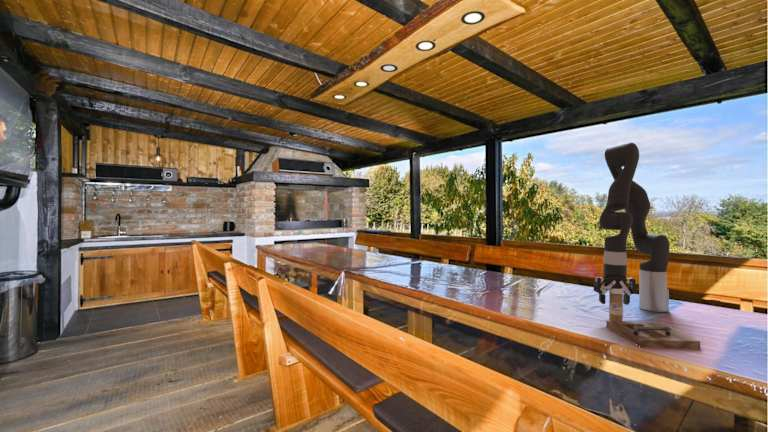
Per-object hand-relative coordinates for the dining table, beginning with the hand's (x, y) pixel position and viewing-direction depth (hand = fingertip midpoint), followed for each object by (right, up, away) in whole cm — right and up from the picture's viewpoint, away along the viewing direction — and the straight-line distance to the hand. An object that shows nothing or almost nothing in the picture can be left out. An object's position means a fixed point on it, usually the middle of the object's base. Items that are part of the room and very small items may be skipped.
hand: (614, 303), depth 128 cm
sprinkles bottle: (+1, -7, 0) cm, 7 cm away
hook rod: (-1, -5, -19) cm, 20 cm away
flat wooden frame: (+1, -7, -15) cm, 17 cm away
